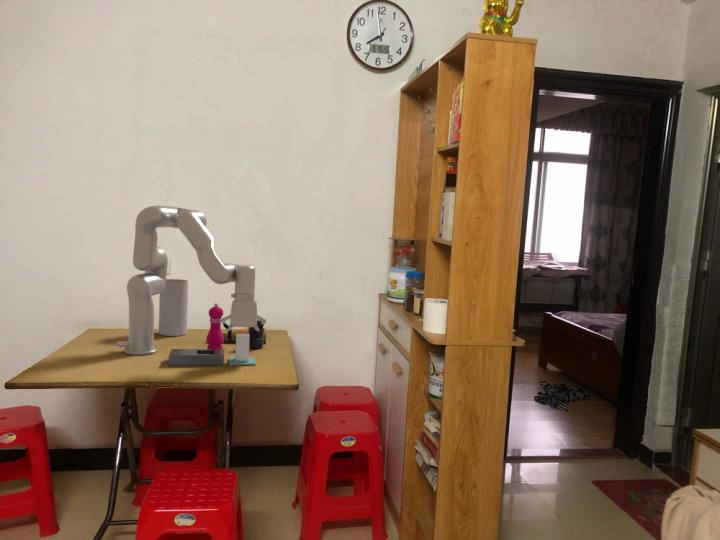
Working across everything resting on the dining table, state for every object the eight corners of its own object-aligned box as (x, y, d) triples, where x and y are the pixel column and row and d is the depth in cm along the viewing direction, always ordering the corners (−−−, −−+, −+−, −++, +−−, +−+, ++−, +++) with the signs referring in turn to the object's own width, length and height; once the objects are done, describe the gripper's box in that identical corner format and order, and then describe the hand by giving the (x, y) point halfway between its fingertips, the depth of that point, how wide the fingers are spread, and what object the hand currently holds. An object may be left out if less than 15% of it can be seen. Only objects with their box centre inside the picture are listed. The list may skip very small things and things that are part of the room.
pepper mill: (227, 349, 246) (228, 303, 244) (216, 353, 239) (217, 305, 237) (213, 347, 249) (214, 301, 247) (202, 350, 242) (203, 303, 240)
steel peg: (235, 361, 224) (236, 336, 223) (235, 358, 229) (236, 333, 228) (248, 361, 225) (249, 336, 224) (248, 358, 230) (249, 333, 229)
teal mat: (229, 365, 221) (229, 363, 221) (229, 359, 231) (229, 357, 230) (255, 365, 223) (255, 363, 223) (254, 359, 233) (254, 357, 233)
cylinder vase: (181, 337, 264) (183, 283, 262) (154, 335, 264) (155, 281, 262) (190, 332, 277) (191, 280, 274) (164, 330, 277) (165, 278, 275)
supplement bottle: (259, 350, 248) (260, 322, 247) (244, 348, 250) (245, 321, 249) (265, 346, 255) (266, 319, 254) (251, 345, 256) (252, 318, 255)
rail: (168, 365, 216) (168, 355, 216) (171, 359, 226) (171, 349, 225) (223, 365, 220) (224, 355, 220) (224, 359, 230) (224, 349, 230)
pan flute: (208, 344, 256) (265, 345, 260) (208, 336, 255) (265, 337, 260) (213, 332, 280) (265, 333, 284) (213, 326, 280) (265, 327, 284)
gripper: (221, 298, 219) (220, 342, 220) (267, 299, 223) (265, 342, 224) (221, 295, 226) (220, 338, 228) (266, 296, 230) (264, 338, 231)
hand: (243, 340), depth 226 cm, fingers open, 9 cm apart
